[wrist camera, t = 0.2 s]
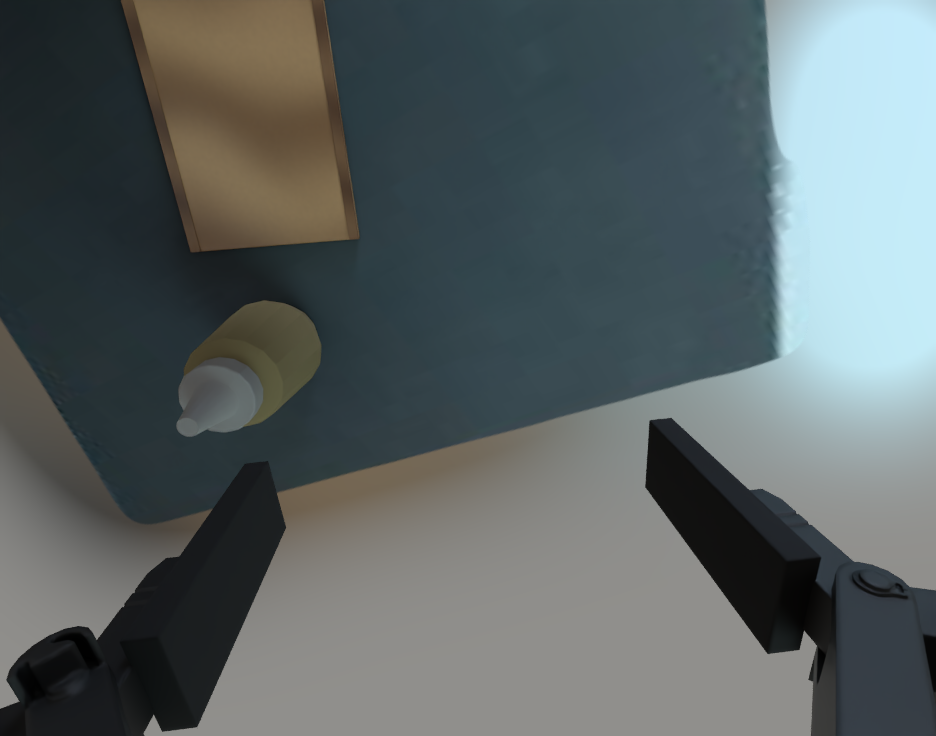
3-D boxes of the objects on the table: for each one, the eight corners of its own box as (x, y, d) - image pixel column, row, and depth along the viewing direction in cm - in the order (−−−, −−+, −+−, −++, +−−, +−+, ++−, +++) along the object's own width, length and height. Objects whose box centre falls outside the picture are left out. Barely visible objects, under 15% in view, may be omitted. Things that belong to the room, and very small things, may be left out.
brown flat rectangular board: (113, -42, 32) (108, -46, 32) (316, -53, 33) (314, -57, 32) (194, 251, 39) (190, 252, 39) (359, 238, 40) (358, 238, 39)
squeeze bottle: (271, 390, 44) (170, 509, 27) (221, 314, 41) (74, 395, 24) (346, 355, 43) (291, 456, 26) (301, 276, 40) (207, 332, 24)
